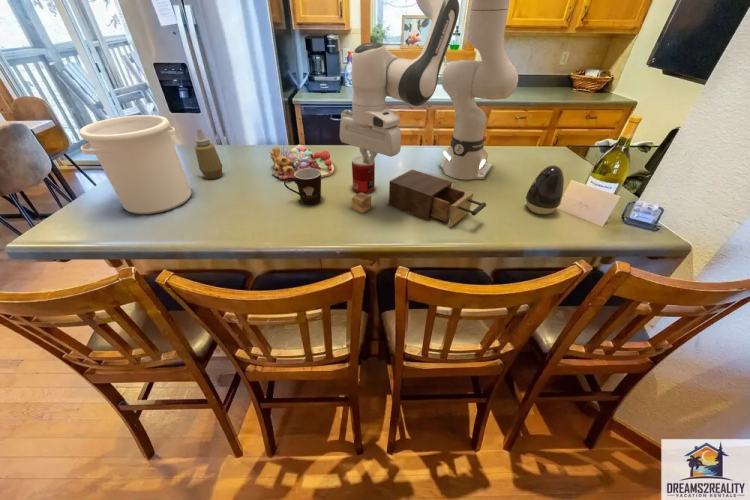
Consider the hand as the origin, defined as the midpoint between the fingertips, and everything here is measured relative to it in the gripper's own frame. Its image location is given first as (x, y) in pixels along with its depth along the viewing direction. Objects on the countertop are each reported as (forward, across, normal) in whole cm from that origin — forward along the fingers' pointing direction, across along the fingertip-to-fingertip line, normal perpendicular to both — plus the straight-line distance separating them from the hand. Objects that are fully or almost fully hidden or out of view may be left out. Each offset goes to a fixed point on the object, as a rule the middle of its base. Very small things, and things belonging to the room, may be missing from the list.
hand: (368, 163), depth 94 cm
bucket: (+17, -59, -40) cm, 74 cm away
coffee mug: (+16, -21, -8) cm, 28 cm away
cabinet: (+16, +10, +14) cm, 23 cm away
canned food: (+16, -12, +11) cm, 22 cm away
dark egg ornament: (+16, +43, +36) cm, 58 cm away
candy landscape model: (+16, -42, +8) cm, 46 cm away
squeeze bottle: (+16, -64, -18) cm, 68 cm away
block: (+16, -3, 0) cm, 16 cm away
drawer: (+15, +22, +13) cm, 29 cm away
